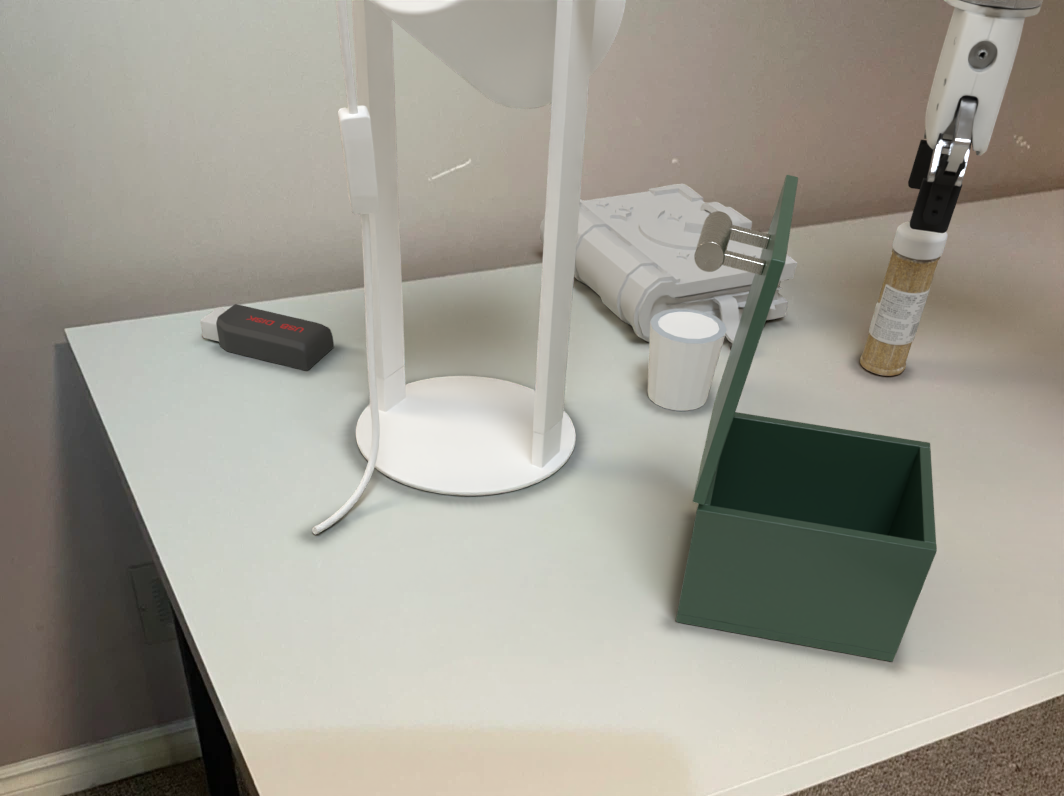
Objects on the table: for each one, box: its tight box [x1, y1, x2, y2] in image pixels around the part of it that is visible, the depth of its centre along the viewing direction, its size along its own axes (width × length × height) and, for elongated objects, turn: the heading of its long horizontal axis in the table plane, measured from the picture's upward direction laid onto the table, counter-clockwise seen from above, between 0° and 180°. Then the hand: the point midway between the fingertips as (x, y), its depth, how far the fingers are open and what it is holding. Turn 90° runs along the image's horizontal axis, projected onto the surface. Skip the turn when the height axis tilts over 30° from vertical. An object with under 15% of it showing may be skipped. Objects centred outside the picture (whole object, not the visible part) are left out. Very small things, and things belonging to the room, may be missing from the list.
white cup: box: [647, 309, 727, 412], centre depth 99 cm, size 7×7×7 cm
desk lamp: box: [311, 0, 627, 535], centre depth 77 cm, size 21×32×45 cm, turn 150°
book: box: [539, 183, 798, 345], centre depth 113 cm, size 19×28×8 cm
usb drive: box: [199, 303, 335, 372], centre depth 103 cm, size 5×12×3 cm, turn 69°
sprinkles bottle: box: [859, 220, 949, 377], centre depth 102 cm, size 5×5×13 cm
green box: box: [675, 411, 938, 663], centre depth 78 cm, size 16×14×10 cm
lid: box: [692, 174, 799, 505], centre depth 70 cm, size 16×14×5 cm
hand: (925, 208), depth 96 cm, fingers open, 9 cm apart
